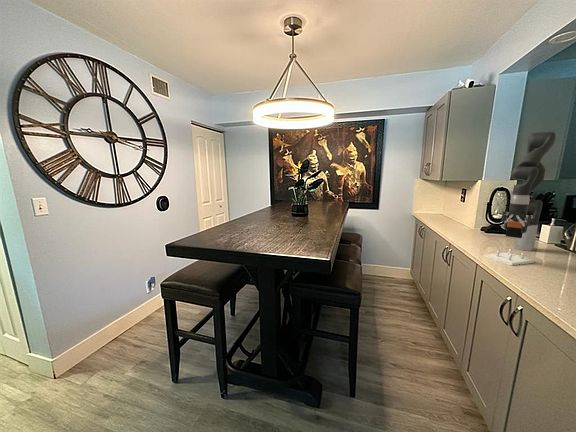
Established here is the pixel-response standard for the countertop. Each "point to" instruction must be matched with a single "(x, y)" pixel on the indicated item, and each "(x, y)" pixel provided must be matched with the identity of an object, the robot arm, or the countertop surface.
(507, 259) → the pin dock
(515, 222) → the battery
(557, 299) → the countertop surface
